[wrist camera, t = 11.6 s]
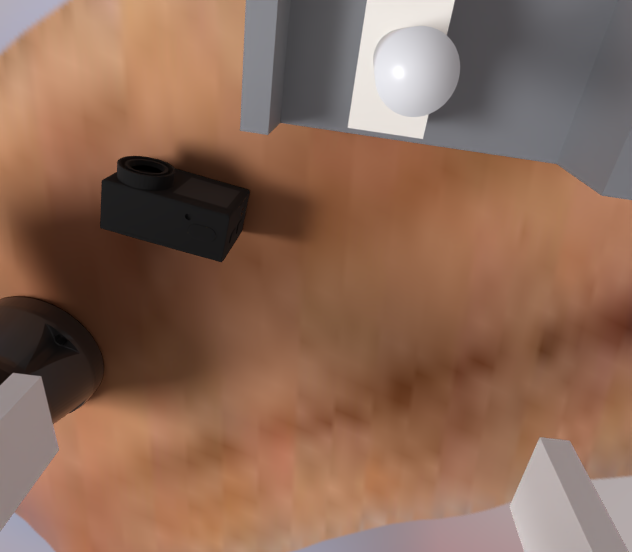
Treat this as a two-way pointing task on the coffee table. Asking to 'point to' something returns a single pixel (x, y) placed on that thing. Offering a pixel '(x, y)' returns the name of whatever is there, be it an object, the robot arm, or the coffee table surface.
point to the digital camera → (172, 207)
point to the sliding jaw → (403, 66)
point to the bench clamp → (465, 79)
